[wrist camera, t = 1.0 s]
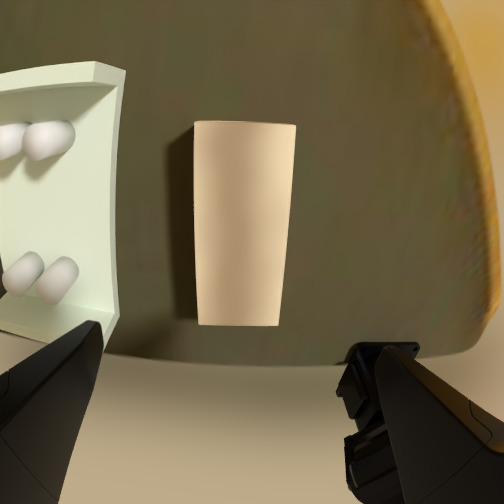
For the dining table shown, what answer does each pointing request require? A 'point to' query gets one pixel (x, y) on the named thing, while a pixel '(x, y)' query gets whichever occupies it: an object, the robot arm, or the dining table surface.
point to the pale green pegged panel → (59, 198)
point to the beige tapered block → (241, 219)
